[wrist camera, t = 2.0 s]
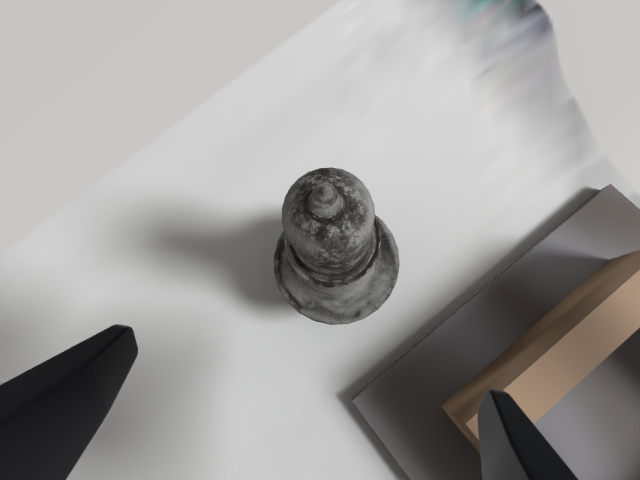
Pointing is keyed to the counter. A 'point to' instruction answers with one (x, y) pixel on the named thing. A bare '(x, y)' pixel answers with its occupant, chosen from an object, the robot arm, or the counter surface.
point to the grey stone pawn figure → (334, 249)
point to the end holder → (531, 357)
